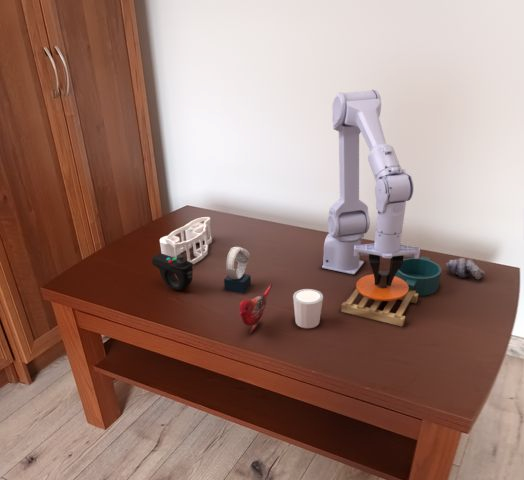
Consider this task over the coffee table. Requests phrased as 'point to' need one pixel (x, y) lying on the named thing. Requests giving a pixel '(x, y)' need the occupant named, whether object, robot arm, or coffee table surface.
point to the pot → (420, 275)
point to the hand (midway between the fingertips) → (382, 283)
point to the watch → (237, 278)
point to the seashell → (464, 268)
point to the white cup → (307, 307)
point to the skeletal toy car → (188, 240)
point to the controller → (174, 270)
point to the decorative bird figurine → (253, 309)
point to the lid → (382, 287)
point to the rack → (378, 314)
